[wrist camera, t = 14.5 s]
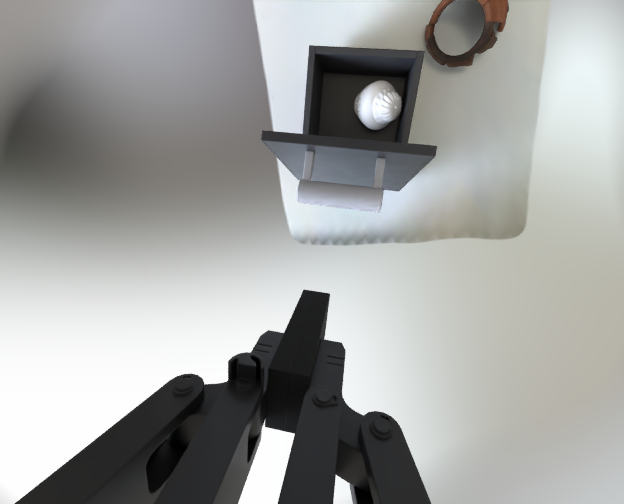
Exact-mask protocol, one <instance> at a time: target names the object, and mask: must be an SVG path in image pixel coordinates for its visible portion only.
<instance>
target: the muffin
mask: <svg viewBox="0 0 624 504" xmlns="http://www.w3.org/2000/svg"><path fill="white" fill-rule="evenodd" d="M401 103H402V101H401V97H400V96H399V95H398V93H396V91H395V89H394V87H393V86H392V85H391V84H390V83H389V82H387V81H383V80H381V81H376V82H374V83H372V84H370V85H369V86H367V87H366V88H365V89H364V90H363V91H361V92H360V93H359V94H358V95H357V97H356V99H355V103H354V110H355V113H356V114H357V116H358V117H359V119H360V120H361V122H362V123H363V124H364V125H365V126H366V127H368V128H370V129H373V130H379V129H382V128H384V127H386V126H387V125H388V124H389V123H390V122H391V121H393V120H395V119H396V117H398V116H399V113H400V112H401V107H402V105H401Z"/></svg>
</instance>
